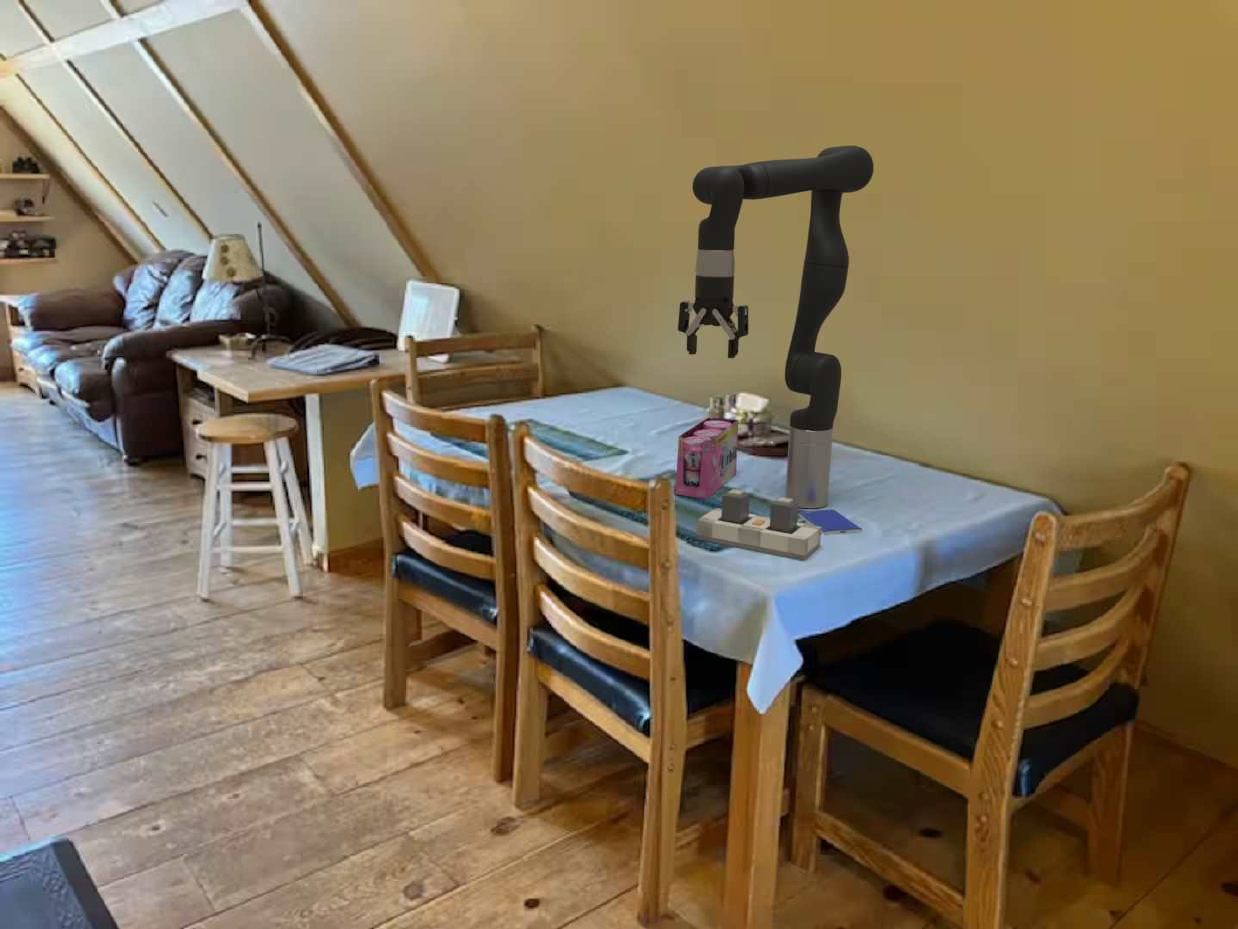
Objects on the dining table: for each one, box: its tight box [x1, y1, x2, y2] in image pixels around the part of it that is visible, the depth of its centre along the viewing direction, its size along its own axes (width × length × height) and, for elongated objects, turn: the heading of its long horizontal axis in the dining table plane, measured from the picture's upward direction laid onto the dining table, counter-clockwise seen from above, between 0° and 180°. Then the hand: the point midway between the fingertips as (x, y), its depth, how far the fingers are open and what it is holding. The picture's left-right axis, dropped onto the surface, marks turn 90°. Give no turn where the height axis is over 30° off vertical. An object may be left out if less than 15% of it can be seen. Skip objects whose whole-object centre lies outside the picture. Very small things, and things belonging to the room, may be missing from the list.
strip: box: [696, 507, 822, 561], centre depth 192 cm, size 22×9×4 cm, turn 60°
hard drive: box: [798, 509, 863, 536], centre depth 204 cm, size 2×8×12 cm
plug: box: [721, 488, 751, 525], centre depth 194 cm, size 4×4×9 cm
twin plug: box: [769, 497, 799, 534], centre depth 189 cm, size 4×4×9 cm
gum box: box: [675, 416, 739, 500], centre depth 229 cm, size 24×8×14 cm, turn 157°
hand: (711, 355), depth 198 cm, fingers open, 8 cm apart
